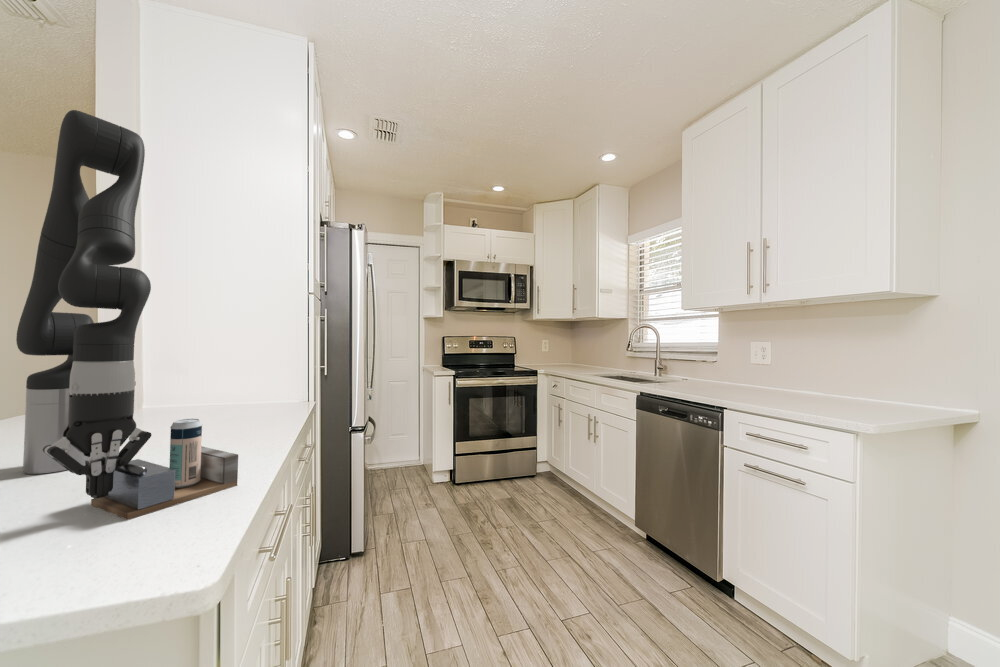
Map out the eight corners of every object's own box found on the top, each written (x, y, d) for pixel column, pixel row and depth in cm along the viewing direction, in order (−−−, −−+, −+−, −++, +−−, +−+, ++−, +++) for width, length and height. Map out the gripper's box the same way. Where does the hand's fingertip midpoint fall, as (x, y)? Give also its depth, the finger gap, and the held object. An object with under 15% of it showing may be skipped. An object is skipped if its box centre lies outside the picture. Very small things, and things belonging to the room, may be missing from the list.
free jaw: (101, 495, 69) (102, 459, 69) (139, 485, 74) (140, 451, 74) (137, 509, 64) (139, 470, 64) (175, 498, 69) (177, 461, 69)
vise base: (91, 505, 68) (92, 469, 68) (200, 475, 84) (201, 446, 84) (127, 520, 63) (129, 481, 63) (237, 485, 79) (238, 454, 79)
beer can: (203, 478, 79) (205, 417, 79) (196, 487, 74) (198, 422, 75) (173, 481, 77) (175, 418, 77) (163, 490, 73) (166, 424, 73)
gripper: (141, 383, 72) (138, 480, 72) (33, 391, 60) (28, 507, 60) (164, 386, 69) (160, 487, 69) (54, 395, 57) (49, 517, 57)
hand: (99, 496), depth 65 cm, fingers closed
